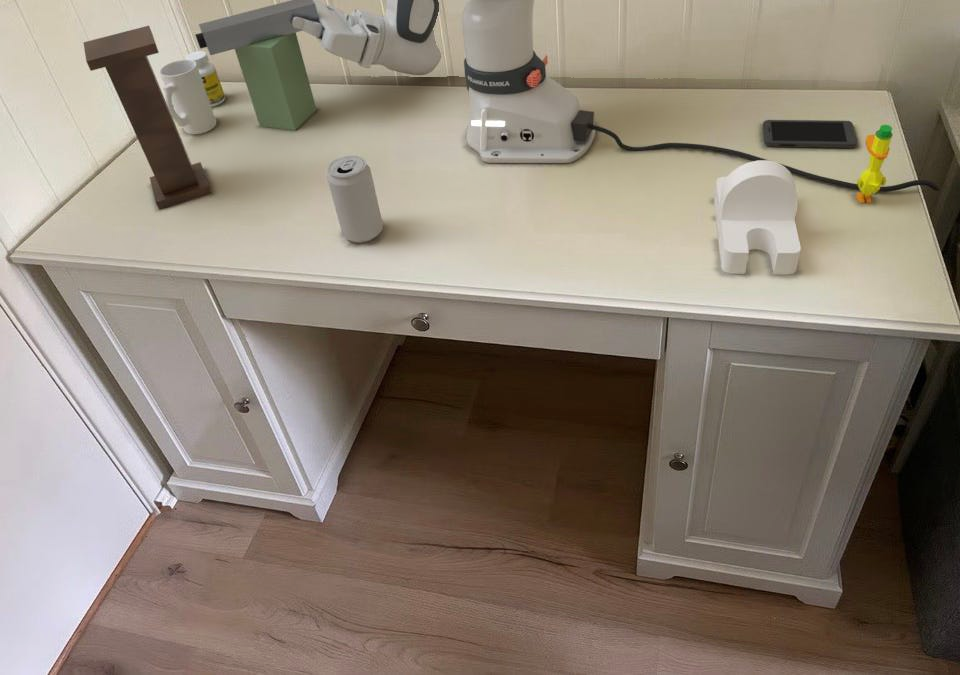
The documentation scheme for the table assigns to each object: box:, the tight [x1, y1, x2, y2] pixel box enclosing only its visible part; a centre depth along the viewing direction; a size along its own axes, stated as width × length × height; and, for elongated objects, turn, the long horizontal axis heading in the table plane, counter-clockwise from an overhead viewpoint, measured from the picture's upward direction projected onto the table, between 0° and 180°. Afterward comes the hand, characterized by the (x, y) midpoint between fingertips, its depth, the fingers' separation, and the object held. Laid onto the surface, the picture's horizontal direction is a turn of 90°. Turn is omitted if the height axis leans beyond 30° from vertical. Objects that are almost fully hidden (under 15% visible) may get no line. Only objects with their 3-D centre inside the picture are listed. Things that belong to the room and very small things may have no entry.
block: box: [234, 32, 317, 131], centre depth 145 cm, size 8×8×16 cm
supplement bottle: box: [185, 50, 226, 108], centre depth 156 cm, size 5×5×10 cm
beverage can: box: [326, 155, 384, 244], centre depth 117 cm, size 6×6×12 cm
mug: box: [158, 58, 217, 135], centre depth 147 cm, size 10×7×12 cm, turn 165°
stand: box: [82, 25, 212, 210], centre depth 127 cm, size 10×9×26 cm
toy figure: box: [855, 124, 893, 204], centre depth 110 cm, size 7×4×12 cm, turn 176°
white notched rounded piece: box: [713, 159, 802, 276], centre depth 107 cm, size 10×18×11 cm, turn 171°
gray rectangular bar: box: [194, 0, 320, 56], centre depth 138 cm, size 21×4×4 cm, turn 113°
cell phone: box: [762, 119, 858, 149], centre depth 127 cm, size 7×14×1 cm, turn 78°
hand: (288, 15), depth 139 cm, fingers closed on gray rectangular bar, 4 cm apart
